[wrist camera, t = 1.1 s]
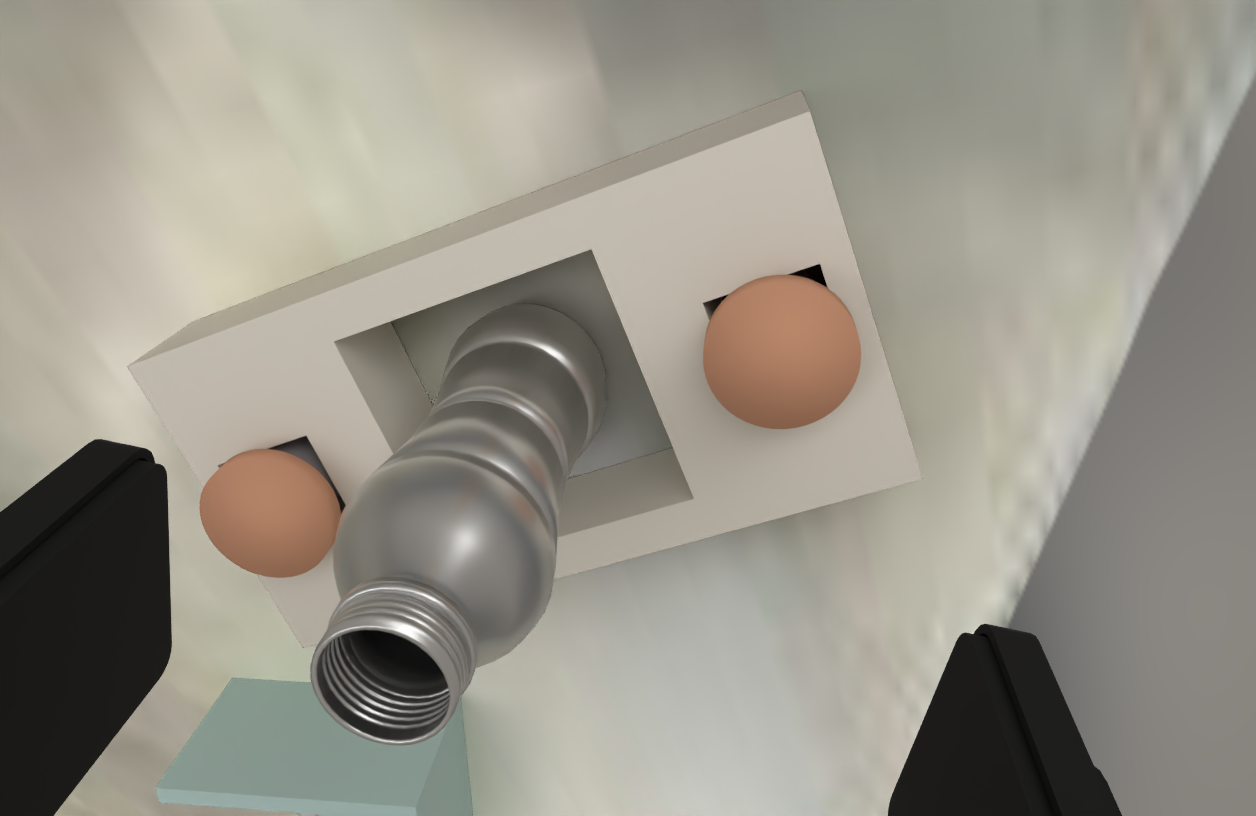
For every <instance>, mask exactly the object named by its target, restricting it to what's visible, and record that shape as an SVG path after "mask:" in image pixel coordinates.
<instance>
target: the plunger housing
mask: <svg viewBox="0 0 1256 816" xmlns="http://www.w3.org/2000/svg"><path fill="white" fill-rule="evenodd" d="M590 249H592V252H593V254H594V257H595V259H596V262H597V264H598V266H599V269H600V271H601V274H602V276H603V279H604V281H605V284H606V286H607V288H608V291H609V293H610V296H611V298H612V301H613V303H614V305H615V308H616V310H617V313H618V315H619V318H620V320H621V322H622V325H623V327H624V330H625V332H626V335H627V337H628V339H629V342H630V344H631V347H632V349H633V352H634V354H635V357H636V359H637V361H638V364H639V366H640V369H641V371H642V374H643V376H644V378H645V381H646V383H647V386H648V388H649V391H650V393H651V395H652V398H653V400H654V403H655V405H656V408H657V410H658V413H659V415H660V417H661V420H662V422H663V425H664V427H665V430H666V432H667V434H668V437H669V439H670V442H671V444H672V447H673V448H670V449H667V450H664V451H660V452H657V453H654V454H650V455H647V456H644V457H640V458H637V459H634V460H630V461H627V462H624V463H620V464H617V465H614V466H610V467H607V468H604V469H600V470H597V471H594V472H590V473H587V474H584V475H580V476H577V477H574V478H570V479H567V481H566V485H565V490H564V493H563V498H562V503H561V508H560V512H559V518H558V536H557V554H556V567H555V575H554V579H558V578H562V577H565V576H569V575H573V574H576V573H580V572H584V571H587V570H591V569H595V568H598V567H602V566H606V565H609V564H613V563H617V562H620V561H624V560H628V559H631V558H635V557H639V556H642V555H646V554H650V553H653V552H657V551H661V550H664V549H668V548H672V547H675V546H679V545H683V544H686V543H690V542H694V541H697V540H701V539H705V538H708V537H712V536H716V535H719V534H723V533H727V532H730V531H734V530H738V529H741V528H745V527H749V526H752V525H756V524H760V523H763V522H767V521H770V520H774V519H778V518H781V517H785V516H789V515H792V514H796V513H800V512H803V511H807V510H811V509H814V508H818V507H822V506H825V505H829V504H833V503H836V502H840V501H844V500H847V499H851V498H855V497H858V496H862V495H866V494H869V493H873V492H877V491H880V490H884V489H888V488H891V487H895V486H899V485H902V484H906V483H910V482H913V481H917V480H921V479H923V478H922V474H921V471H920V468H919V465H918V461H917V458H916V455H915V452H914V448H913V445H912V442H911V439H910V435H909V432H908V429H907V426H906V422H905V419H904V416H903V413H902V409H901V406H900V403H899V400H898V396H897V393H896V390H895V386H894V383H893V380H892V377H891V373H890V370H889V367H888V364H887V360H886V357H885V354H884V351H883V347H882V344H881V341H880V338H879V334H878V331H877V328H876V325H875V321H874V318H873V315H872V312H871V308H870V305H869V302H868V299H867V295H866V292H865V289H864V286H863V282H862V279H861V276H860V273H859V269H858V266H857V263H856V260H855V256H854V253H853V250H852V246H851V243H850V240H849V237H848V233H847V230H846V227H845V224H844V220H843V217H842V214H841V211H840V207H839V204H838V201H837V198H836V194H835V191H834V188H833V185H832V181H831V178H830V175H829V172H828V168H827V165H826V162H825V159H824V155H823V152H822V149H821V146H820V142H819V139H818V136H817V133H816V129H815V126H814V123H813V120H812V116H811V113H810V110H809V108H808V105H807V103H806V100H805V98H804V96H803V93H802V91H798V92H796V93H793V94H790V95H788V96H785V97H783V98H780V99H777V100H775V101H772V102H769V103H767V104H764V105H762V106H759V107H756V108H754V109H751V110H748V111H746V112H743V113H741V114H738V115H735V116H733V117H730V118H727V119H725V120H722V121H719V122H717V123H714V124H712V125H709V126H706V127H704V128H701V129H698V130H696V131H693V132H691V133H688V134H685V135H683V136H680V137H677V138H675V139H672V140H670V141H667V142H664V143H662V144H659V145H656V146H654V147H651V148H648V149H646V150H643V151H641V152H638V153H635V154H633V155H630V156H627V157H625V158H622V159H620V160H617V161H614V162H612V163H609V164H606V165H604V166H601V167H599V168H596V169H593V170H591V171H588V172H585V173H583V174H580V175H577V176H575V177H572V178H570V179H567V180H564V181H562V182H559V183H556V184H554V185H551V186H549V187H546V188H543V189H541V190H538V191H535V192H533V193H530V194H528V195H525V196H522V197H520V198H517V199H514V200H512V201H509V202H506V203H504V204H501V205H499V206H496V207H493V208H491V209H488V210H485V211H483V212H480V213H478V214H475V215H472V216H470V217H467V218H464V219H462V220H459V221H457V222H454V223H451V224H449V225H446V226H443V227H441V228H438V229H435V230H433V231H430V232H428V233H425V234H422V235H420V236H417V237H414V238H412V239H409V240H407V241H404V242H401V243H399V244H396V245H393V246H391V247H388V248H386V249H383V250H380V251H378V252H375V253H372V254H370V255H367V256H364V257H362V258H359V259H357V260H354V261H351V262H349V263H346V264H343V265H341V266H338V267H336V268H333V269H330V270H328V271H325V272H322V273H320V274H317V275H315V276H312V277H309V278H307V279H304V280H301V281H299V282H296V283H293V284H291V285H288V286H286V287H283V288H280V289H278V290H275V291H272V292H270V293H267V294H265V295H262V296H259V297H257V298H254V299H251V300H249V301H246V302H244V303H241V304H238V305H236V306H233V307H230V308H228V309H225V310H222V311H220V312H217V313H215V314H212V315H209V316H207V317H204V318H201V319H199V320H196V321H194V322H192V323H190V324H189V325H187V326H186V327H184V328H183V329H181V330H180V331H178V332H177V333H175V334H174V335H172V336H171V337H170V338H168V339H167V340H165V341H164V342H162V343H161V344H159V345H158V346H156V347H155V348H153V349H152V350H150V351H149V352H148V353H146V354H145V355H143V356H142V357H140V358H139V359H137V360H136V361H134V362H133V363H131V364H130V365H128V366H127V367H128V369H129V371H130V372H131V374H132V375H133V377H134V379H135V380H136V382H137V384H138V385H139V387H140V388H141V390H142V392H143V393H144V395H145V396H146V398H147V400H148V401H149V403H150V404H151V406H152V408H153V409H154V411H155V412H156V414H157V416H158V417H159V419H160V420H161V422H162V424H163V425H164V427H165V428H166V430H167V432H168V433H169V435H170V436H171V438H172V440H173V441H174V443H175V444H176V446H177V448H178V449H179V451H180V452H181V454H182V456H183V457H184V459H185V460H186V462H187V464H188V465H189V467H190V468H191V470H192V472H193V473H194V475H195V476H196V478H197V480H198V481H199V483H200V484H201V486H202V488H204V486H205V484H206V483H207V481H208V480H209V479H210V477H211V476H212V475H213V474H214V473H215V472H216V471H217V470H218V469H219V468H220V467H221V466H222V465H223V464H224V463H225V462H227V461H228V460H229V459H230V458H232V457H233V456H235V455H237V454H239V453H242V452H245V451H248V450H254V449H271V448H272V447H274V446H277V445H280V444H283V443H286V442H289V441H292V440H295V439H298V438H300V437H303V436H307V438H308V439H309V441H310V443H311V445H312V446H313V448H314V450H315V452H316V453H317V455H318V457H319V459H320V461H321V462H322V464H323V466H324V468H325V469H326V471H327V473H328V475H329V476H330V478H331V480H332V482H333V483H334V485H335V487H336V489H337V491H338V492H339V494H340V497H339V498H338V502H339V505H340V510H341V514H342V512H343V510H344V508H345V506H346V504H347V503H348V501H349V499H350V498H351V497H352V496H353V494H354V493H355V492H356V491H357V490H358V489H359V487H360V486H361V485H362V484H363V483H364V482H365V480H366V479H367V478H368V477H369V476H370V475H371V474H372V473H373V472H374V471H375V470H377V469H378V468H379V467H380V466H381V465H382V464H383V463H384V462H385V461H386V460H387V459H388V458H390V457H391V456H392V455H393V454H394V453H395V452H396V451H397V450H398V449H400V448H401V447H402V446H403V445H404V444H405V443H406V442H407V441H408V440H409V439H410V438H411V437H412V435H413V434H414V433H415V431H416V430H417V429H418V428H419V427H420V425H421V424H422V423H423V421H424V420H425V419H426V418H427V416H428V415H429V414H430V412H431V410H432V408H433V405H432V403H431V401H430V399H429V397H428V395H427V393H426V391H425V389H424V387H423V385H422V383H421V381H420V379H419V377H418V375H417V373H416V372H415V370H414V368H413V366H412V364H411V362H410V360H409V358H408V356H407V354H406V352H405V350H404V348H403V346H402V344H401V342H400V340H399V338H398V336H397V334H396V332H395V330H394V328H393V326H392V324H391V322H390V321H393V320H396V319H398V318H401V317H404V316H407V315H409V314H412V313H415V312H418V311H421V310H423V309H426V308H429V307H432V306H435V305H437V304H440V303H443V302H446V301H448V300H451V299H454V298H457V297H460V296H462V295H465V294H468V293H471V292H474V291H476V290H479V289H482V288H485V287H487V286H490V285H493V284H496V283H499V282H501V281H504V280H507V279H510V278H512V277H515V276H518V275H521V274H524V273H526V272H529V271H532V270H535V269H538V268H540V267H543V266H546V265H549V264H551V263H554V262H557V261H560V260H563V259H565V258H568V257H571V256H574V255H577V254H579V253H582V252H585V251H588V250H590ZM817 264H820V265H821V268H822V272H823V275H824V278H825V281H826V284H827V287H828V289H829V290H831V291H832V292H833V293H835V294H836V295H837V296H838V297H839V298H840V299H841V300H842V302H843V303H844V304H845V306H846V307H847V309H848V310H849V312H850V314H851V315H852V318H853V321H854V323H855V326H856V329H857V333H858V336H859V340H860V345H861V365H860V370H859V374H858V377H857V380H856V382H855V384H854V386H853V388H852V390H851V392H850V393H849V395H848V396H847V397H846V399H845V400H844V401H843V402H842V403H841V404H840V405H839V406H838V407H837V408H836V409H835V410H834V411H832V412H831V413H830V414H828V415H827V416H825V417H824V418H822V419H820V420H818V421H816V422H814V423H811V424H808V425H805V426H802V427H797V428H791V429H770V428H763V427H759V426H755V425H753V424H750V423H747V422H745V421H743V420H741V419H739V418H737V417H736V416H735V415H733V414H732V413H730V412H729V411H728V410H727V409H726V408H725V407H723V406H722V404H721V403H720V402H719V401H718V400H717V399H716V397H715V396H714V394H713V392H712V391H711V389H710V387H709V385H708V382H707V379H706V376H705V372H704V366H703V350H704V341H705V334H706V330H707V326H708V324H709V321H710V319H711V317H712V315H713V313H714V312H715V310H716V308H717V307H718V306H719V305H720V303H721V302H722V301H721V298H720V297H722V296H725V295H728V294H730V293H732V292H733V291H734V290H736V289H737V288H738V287H740V286H742V285H744V284H746V283H748V282H750V281H753V280H755V279H758V278H762V277H766V276H772V275H788V274H791V273H794V272H797V271H800V270H803V269H806V268H809V267H812V266H815V265H817ZM334 545H335V542H334V543H333V545H332V546H331V548H330V549H329V551H328V552H327V554H326V555H325V557H324V558H323V560H322V561H321V562H320V563H319V564H318V565H317V566H315V567H314V568H313V569H311V570H310V571H308V572H306V573H303V574H301V575H298V576H293V577H286V578H274V577H266V576H262V575H258V574H257V576H258V577H259V579H260V580H261V582H262V584H263V585H264V587H265V588H266V590H267V592H268V593H269V595H270V596H271V598H272V600H273V601H274V603H275V604H276V606H277V608H278V609H279V611H280V612H281V614H282V616H283V617H284V619H285V620H286V622H287V624H288V625H289V627H290V628H291V630H292V632H293V633H294V635H295V636H296V638H297V640H298V641H299V643H300V644H301V646H302V648H305V647H309V646H313V645H316V644H319V642H320V640H321V639H322V637H323V635H324V634H325V632H326V631H327V629H328V625H329V621H330V618H331V616H332V614H333V613H334V611H335V609H336V607H337V606H338V604H339V603H340V601H341V599H340V596H339V593H338V589H337V586H336V581H335V576H334V571H333V552H334Z"/></svg>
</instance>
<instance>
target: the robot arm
mask: <svg viewBox="0 0 1256 816" xmlns="http://www.w3.org/2000/svg"><path fill="white" fill-rule="evenodd" d="M171 647H172V635H171V599H170V563H169V527H168V491H167V473H166V470H165V468H164V466H162V465H160V464H156V463H155V461H154V457H153V455H152V453H151V452H150V451H149V450H148V449H145V448H140V447H136V446H131V445H126V444H121V443H116V442H112V441H107V440H102V439H98V440H94V441H92V442H90V443H88V444H87V445H86V446H84V447H83V448H82V449H81V450H79V451H78V452H77V453H75V454H74V455H73V456H72V457H70V458H69V459H68V460H67V461H65V462H64V463H63V464H61V465H60V466H59V467H58V468H56V469H55V470H54V471H52V472H51V473H50V474H49V475H47V476H46V477H45V478H44V479H42V480H41V481H40V482H38V483H37V484H36V485H35V486H33V487H32V488H31V489H29V490H28V491H27V492H26V493H24V494H23V495H22V496H21V497H19V498H18V499H17V500H15V501H14V502H13V503H12V504H10V505H9V506H8V507H6V508H5V509H4V510H3V511H1V512H0V816H54V814H55V813H56V812H57V810H58V809H59V808H60V807H61V805H62V804H63V803H64V801H65V800H66V799H67V797H68V796H69V795H70V794H71V792H72V791H73V790H74V788H75V787H76V786H77V785H78V783H79V782H80V781H81V779H82V778H83V777H84V776H85V774H86V773H87V772H88V770H89V769H90V768H91V766H92V765H93V764H94V763H95V761H96V760H97V759H98V757H99V756H100V755H101V754H102V752H103V751H104V750H105V748H106V747H107V746H108V745H109V743H110V742H111V741H112V739H113V738H114V737H115V735H116V734H117V733H118V732H119V730H120V729H121V728H122V726H123V725H124V724H125V723H126V721H127V720H128V719H129V717H130V716H131V715H132V714H133V712H134V711H135V710H136V708H137V707H138V706H139V704H140V703H141V702H142V701H143V699H144V698H145V697H146V695H147V694H148V693H149V692H150V690H151V689H152V688H153V686H154V685H155V684H156V683H157V681H158V680H159V679H160V677H161V676H162V674H163V672H164V670H165V668H166V666H167V664H168V661H169V658H170V653H171ZM888 816H1122V815H1121V812H1120V810H1119V808H1118V806H1117V804H1116V801H1115V799H1114V797H1113V794H1112V792H1111V790H1110V788H1109V785H1108V783H1107V781H1106V780H1105V778H1104V777H1103V775H1102V773H1101V772H1100V770H1098V769H1097V768H1096V767H1094V765H1093V763H1092V761H1091V758H1090V756H1089V754H1088V752H1087V749H1086V747H1085V745H1084V742H1083V740H1082V738H1081V735H1080V733H1079V731H1078V729H1077V726H1076V724H1075V722H1074V720H1073V717H1072V715H1071V713H1070V711H1069V708H1068V706H1067V704H1066V702H1065V699H1064V697H1063V695H1062V692H1061V690H1060V688H1059V686H1058V683H1057V681H1056V679H1055V676H1054V674H1053V672H1052V670H1051V667H1050V665H1049V663H1048V661H1047V658H1046V656H1045V654H1044V652H1043V649H1042V647H1041V645H1040V642H1039V641H1038V639H1037V637H1036V636H1035V635H1033V634H1031V633H1027V632H1022V631H1017V630H1012V629H1008V628H1003V627H998V626H993V625H989V624H983V625H980V626H979V627H978V628H977V629H976V631H975V633H974V634H970V633H962V634H961V635H960V636H959V638H958V640H957V641H956V643H955V646H954V648H953V651H952V653H951V655H950V658H949V660H948V663H947V665H946V667H945V670H944V672H943V674H942V677H941V679H940V682H939V684H938V686H937V689H936V691H935V694H934V696H933V698H932V701H931V703H930V706H929V708H928V710H927V713H926V715H925V717H924V720H923V722H922V725H921V727H920V729H919V732H918V734H917V737H916V739H915V741H914V744H913V746H912V748H911V751H910V753H909V756H908V758H907V760H906V763H905V765H904V768H903V770H902V772H901V775H900V777H899V779H898V782H897V784H896V787H895V789H894V791H893V794H892V797H891V800H890V804H889V810H888Z"/></svg>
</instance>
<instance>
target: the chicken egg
mask: <svg viewBox="0 0 1256 816" xmlns="http://www.w3.org/2000/svg"><path fill="white" fill-rule="evenodd" d="M339 497H340V494H339V492H338V491H337V489H336V487H335V485H334V483H333V482H332V480H331V478H330V476H329V475H328V473H327V471H326V469H325V468H324V466H323V464H322V462H321V461H320V459H319V457H318V455H317V453H316V452H315V450H314V448H313V446H312V445H311V443H310V441H309V439H308V438H307V436H303V437H300V438H298V439H295V440H292V441H289V442H286V443H283V444H280V445H277V446H274V447H272V448H271V449H254V450H248V451H245V452H242V453H239V454H237V455H235V456H233V457H232V458H230V459H229V460H228V461H227V462H225V463H224V464H223V465H222V466H221V467H220V468H219V469H218V470H217V471H216V472H215V473H214V474H213V475H212V476H211V477H210V479H209V480H208V481H207V483H206V484H205V486H204V488H203V491H202V493H201V498H200V516H201V520H202V524H203V526H204V529H205V531H206V533H207V535H208V537H209V538H210V540H211V541H212V543H213V544H214V545H215V547H216V548H217V549H218V550H219V551H220V552H221V553H222V554H223V555H224V556H225V557H226V558H228V559H229V560H230V561H232V562H233V563H235V564H236V565H238V566H240V567H241V568H243V569H245V570H247V571H250V572H252V573H255V574H258V575H262V576H266V577H274V578H286V577H293V576H298V575H301V574H303V573H306V572H308V571H310V570H311V569H313V568H314V567H315V566H317V565H318V564H319V563H320V562H321V561H322V560H323V558H324V557H325V555H326V554H327V552H328V551H329V549H330V548H331V546H332V545H333V543H334V542H335V539H336V532H337V528H338V525H339V521H340V517H341V510H340V505H339V502H338V498H339Z"/></svg>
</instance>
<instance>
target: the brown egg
mask: <svg viewBox="0 0 1256 816" xmlns="http://www.w3.org/2000/svg"><path fill="white" fill-rule="evenodd" d="M860 365H861V345H860V340H859V336H858V333H857V329H856V326H855V323H854V321H853V318H852V315H851V314H850V312H849V310H848V309H847V307H846V306H845V304H844V303H843V302H842V300H841V299H840V298H839V297H838V296H837V295H836V294H835V293H833V292H832V291H831V290H829V289H828V288H827V287H825V286H823V285H821V284H820V283H818V282H815V281H814V279H813V278H812V277H811V276H810V275H809V274H808V273H807V272H806V271H804V270H800V271H797V272H794V273H791V274H788V275H772V276H766V277H762V278H758V279H755V280H753V281H750V282H748V283H746V284H744V285H742V286H740V287H738V288H737V289H736V290H734V291H733V292H732V293H730V294H729V295H728V296H727V297H726V298H725V299H724V300H723V301H722V302H721V303H720V305H719V306H718V307H717V308H716V310H715V312H714V313H713V315H712V317H711V319H710V321H709V324H708V326H707V330H706V334H705V341H704V350H703V366H704V372H705V376H706V379H707V382H708V385H709V387H710V389H711V391H712V392H713V394H714V396H715V397H716V399H717V400H718V401H719V402H720V403H721V404H722V406H723V407H725V408H726V409H727V410H728V411H729V412H730V413H732V414H733V415H735V416H736V417H737V418H739V419H741V420H743V421H745V422H747V423H750V424H753V425H755V426H759V427H763V428H770V429H791V428H797V427H802V426H805V425H808V424H811V423H814V422H816V421H818V420H820V419H822V418H824V417H825V416H827V415H828V414H830V413H831V412H832V411H834V410H835V409H836V408H837V407H838V406H839V405H840V404H841V403H842V402H843V401H844V400H845V399H846V397H847V396H848V395H849V393H850V392H851V390H852V388H853V386H854V384H855V382H856V380H857V377H858V374H859V370H860Z"/></svg>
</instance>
